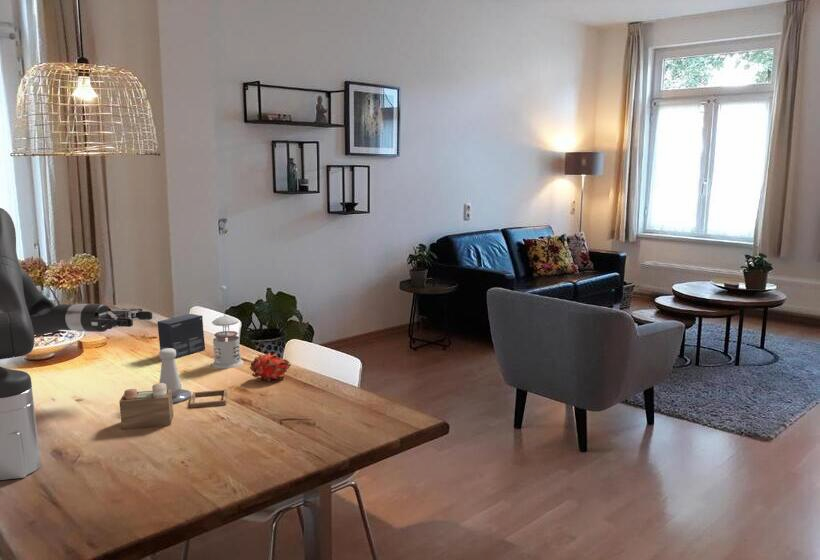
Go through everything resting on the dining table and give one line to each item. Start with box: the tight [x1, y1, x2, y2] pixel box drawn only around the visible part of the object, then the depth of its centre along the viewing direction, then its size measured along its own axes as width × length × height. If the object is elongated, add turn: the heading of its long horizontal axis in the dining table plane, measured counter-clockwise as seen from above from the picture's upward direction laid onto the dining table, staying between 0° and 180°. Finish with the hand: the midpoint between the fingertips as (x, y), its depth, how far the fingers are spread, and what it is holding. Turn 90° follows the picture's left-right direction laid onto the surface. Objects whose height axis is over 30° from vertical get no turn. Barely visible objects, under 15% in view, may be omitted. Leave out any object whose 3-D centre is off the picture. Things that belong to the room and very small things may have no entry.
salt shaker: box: [158, 348, 182, 398], centre depth 176 cm, size 6×6×13 cm
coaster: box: [172, 388, 192, 405], centre depth 177 cm, size 10×10×1 cm
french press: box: [211, 285, 244, 369], centre depth 205 cm, size 10×12×25 cm
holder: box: [189, 389, 228, 409], centre depth 175 cm, size 9×9×1 cm
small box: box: [156, 313, 206, 360], centre depth 217 cm, size 13×7×12 cm, turn 146°
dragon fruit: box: [249, 352, 292, 382], centre depth 191 cm, size 8×8×12 cm
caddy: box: [119, 382, 174, 430], centre depth 160 cm, size 6×11×9 cm, turn 103°
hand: (142, 318), depth 175 cm, fingers open, 8 cm apart
